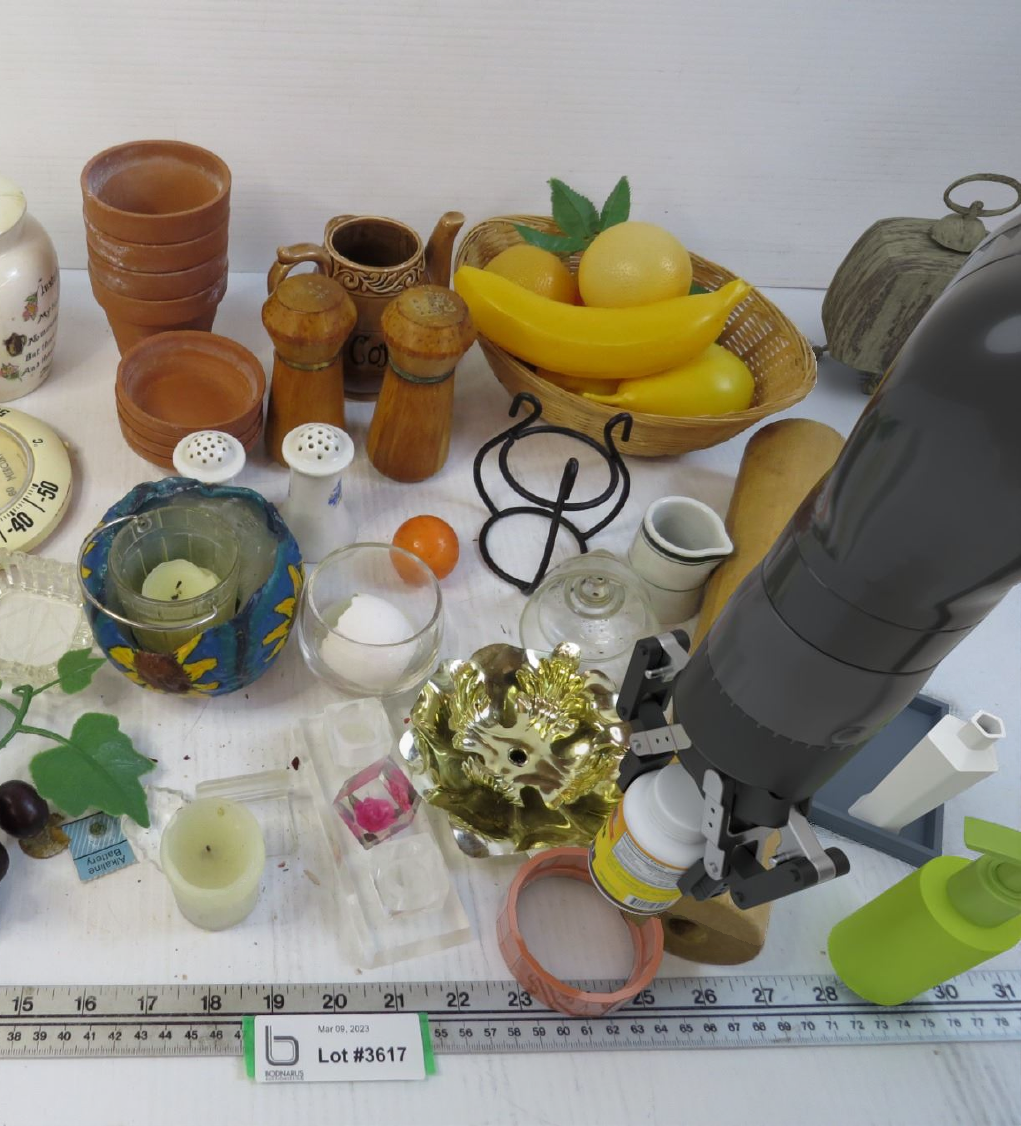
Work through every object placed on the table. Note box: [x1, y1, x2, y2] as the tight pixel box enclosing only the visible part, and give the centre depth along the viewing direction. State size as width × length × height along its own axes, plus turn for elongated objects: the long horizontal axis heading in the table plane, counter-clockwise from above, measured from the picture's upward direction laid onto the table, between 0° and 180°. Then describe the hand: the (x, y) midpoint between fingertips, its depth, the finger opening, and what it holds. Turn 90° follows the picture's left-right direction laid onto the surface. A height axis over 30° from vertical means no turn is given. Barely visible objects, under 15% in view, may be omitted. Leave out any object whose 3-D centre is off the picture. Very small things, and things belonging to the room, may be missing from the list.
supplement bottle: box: [588, 761, 707, 915], centre depth 53 cm, size 6×6×10 cm
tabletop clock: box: [811, 172, 1021, 395], centre depth 100 cm, size 14×9×25 cm, turn 77°
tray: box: [806, 692, 950, 869], centre depth 78 cm, size 15×10×2 cm
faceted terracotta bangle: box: [495, 846, 665, 1018], centre depth 66 cm, size 10×10×5 cm
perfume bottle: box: [848, 709, 1007, 835], centre depth 69 cm, size 5×4×15 cm
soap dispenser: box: [827, 815, 1021, 1007], centre depth 60 cm, size 6×7×20 cm
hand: (663, 832), depth 53 cm, fingers closed on supplement bottle, 5 cm apart
